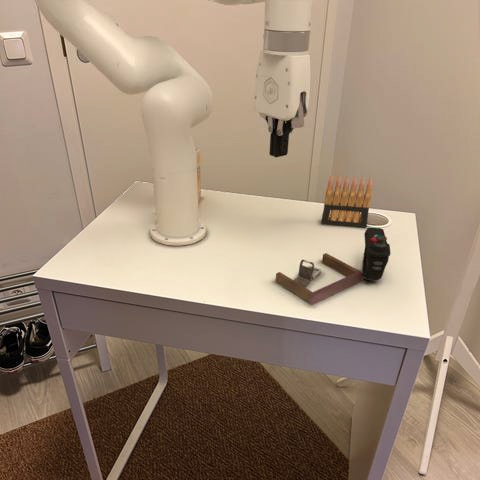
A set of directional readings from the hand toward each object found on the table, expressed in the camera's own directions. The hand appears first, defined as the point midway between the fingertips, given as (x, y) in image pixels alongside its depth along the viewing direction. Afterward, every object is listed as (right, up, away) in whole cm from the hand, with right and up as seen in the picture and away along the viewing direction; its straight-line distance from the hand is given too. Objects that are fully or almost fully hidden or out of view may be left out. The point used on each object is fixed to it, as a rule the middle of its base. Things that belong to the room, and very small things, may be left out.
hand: (278, 155), depth 88 cm
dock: (+8, -23, +4) cm, 25 cm away
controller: (+19, -22, +6) cm, 30 cm away
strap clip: (+6, -23, +4) cm, 24 cm away
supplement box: (-21, -1, +34) cm, 40 cm away
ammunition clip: (+18, -8, +25) cm, 32 cm away
